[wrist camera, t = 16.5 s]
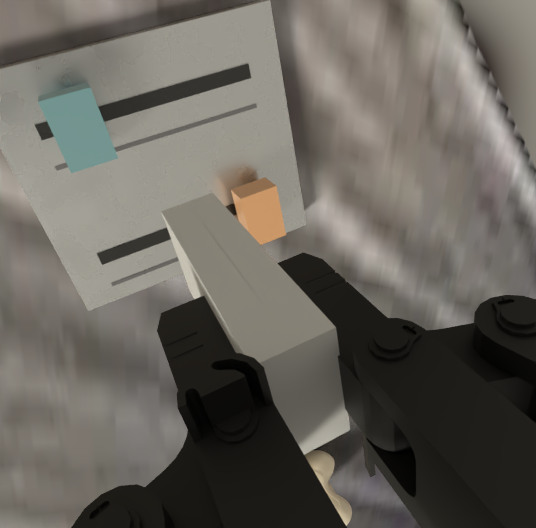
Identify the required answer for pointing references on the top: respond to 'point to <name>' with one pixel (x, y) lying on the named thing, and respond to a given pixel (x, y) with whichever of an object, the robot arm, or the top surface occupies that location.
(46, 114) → the fader
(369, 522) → the top surface
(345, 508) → the figurine
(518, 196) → the top surface
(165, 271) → the console
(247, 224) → the fader
